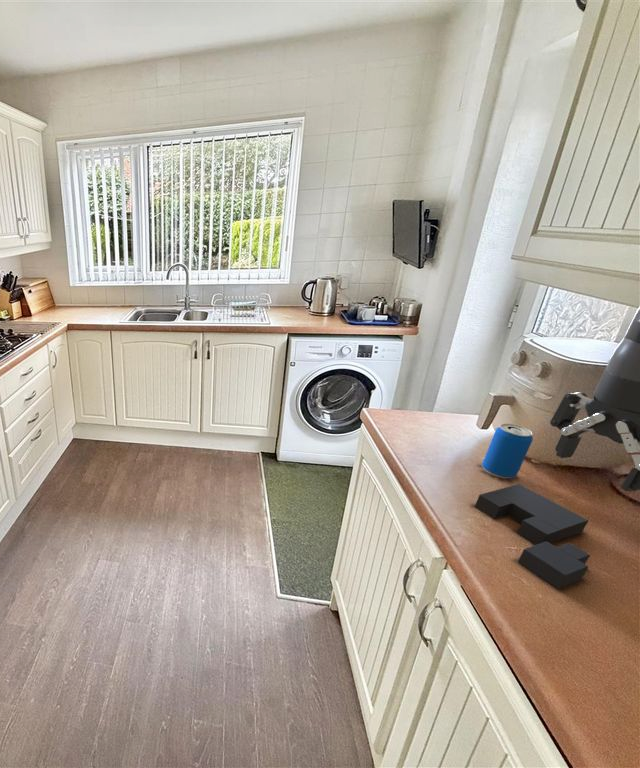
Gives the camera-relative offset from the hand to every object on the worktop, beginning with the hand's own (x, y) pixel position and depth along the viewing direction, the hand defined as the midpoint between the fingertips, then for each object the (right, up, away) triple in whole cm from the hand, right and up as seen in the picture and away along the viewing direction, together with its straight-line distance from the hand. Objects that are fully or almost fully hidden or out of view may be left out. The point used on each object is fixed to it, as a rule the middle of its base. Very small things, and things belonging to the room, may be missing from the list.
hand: (594, 471), depth 61 cm
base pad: (+11, -15, +22) cm, 29 cm away
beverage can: (+19, -8, +37) cm, 42 cm away
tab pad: (+5, -20, +11) cm, 23 cm away
